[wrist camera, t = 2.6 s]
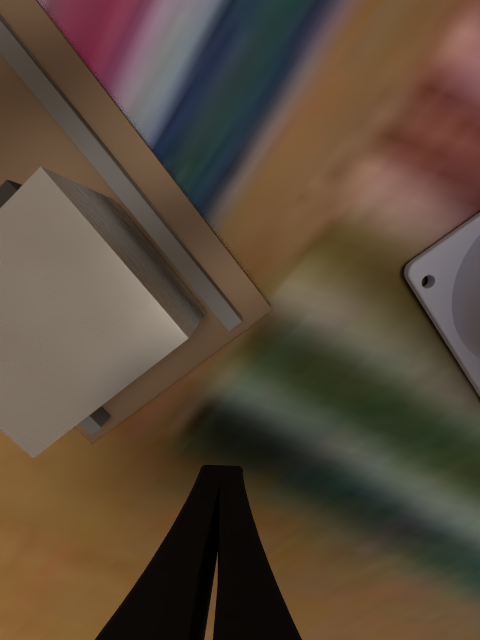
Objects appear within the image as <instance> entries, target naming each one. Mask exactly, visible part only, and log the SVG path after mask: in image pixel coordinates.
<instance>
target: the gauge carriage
mask: <svg viewBox="0 0 480 640" xmlns="http://www.w3.org/2000/svg"><path fill="white" fill-rule="evenodd" d="M206 313H207V312H206V311H205V309H204V308H203V307H202V306H201V305H200V303H199V302H198V301H197V300H196V299H195V297H194V296H193V295H192V294H191V292H190V291H189V290H188V289H187V288H186V286H185V285H184V284H183V283H182V282H181V280H180V279H179V278H178V277H177V276H176V274H175V273H174V272H173V271H172V269H171V268H170V267H169V266H168V265H167V263H166V262H165V261H164V260H163V259H162V257H161V256H160V255H159V254H158V253H157V251H156V250H155V249H154V248H153V246H152V245H151V244H150V243H149V242H148V240H147V239H146V238H145V237H144V236H143V234H142V233H141V232H140V231H139V230H138V228H137V227H136V226H135V225H134V223H133V222H132V221H131V220H130V219H129V217H128V216H127V215H126V214H125V213H124V211H123V210H122V209H121V208H120V207H119V205H118V204H117V203H116V202H115V200H114V199H112V198H109V197H107V196H105V195H103V194H101V193H98V192H96V191H94V190H92V189H90V188H87V187H85V186H83V185H81V184H78V183H76V182H74V181H72V180H70V179H67V178H65V177H63V176H61V175H59V174H56V173H54V172H52V171H50V170H47V169H45V168H43V167H40V168H39V169H38V170H37V171H36V172H35V173H34V174H33V175H32V176H31V177H30V178H29V179H28V180H27V181H26V182H25V183H24V184H23V185H22V184H19V183H16V182H13V181H10V180H6V181H5V182H4V183H3V184H2V185H1V186H0V429H1V430H2V431H3V432H4V433H5V434H6V435H7V436H9V437H10V438H11V439H12V440H13V441H14V442H15V443H16V444H18V445H19V446H20V447H21V448H22V449H23V450H24V451H26V452H27V453H28V454H29V455H30V456H31V457H32V458H35V457H36V456H37V455H38V454H40V453H41V452H42V451H44V450H45V449H46V448H48V447H49V446H50V445H51V444H53V443H54V442H55V441H57V440H58V439H59V438H60V437H62V436H63V435H64V434H66V433H67V432H68V431H69V430H71V429H72V428H73V427H75V426H76V425H77V424H79V423H80V422H81V421H82V420H84V419H85V418H86V417H88V416H89V415H90V414H91V413H93V412H94V411H95V410H97V409H98V408H99V407H101V406H102V405H103V404H104V403H106V402H107V401H108V400H110V399H111V398H112V397H113V396H115V395H116V394H117V393H119V392H120V391H121V390H123V389H124V388H125V387H126V386H128V385H129V384H130V383H132V382H133V381H134V380H135V379H137V378H138V377H139V376H141V375H142V374H143V373H144V372H146V371H147V370H148V369H150V368H151V367H152V366H154V365H155V364H156V363H157V362H159V361H160V360H161V359H163V358H164V357H165V356H166V355H168V354H169V353H170V352H172V351H173V350H174V349H176V348H177V347H178V346H179V345H181V344H182V343H183V342H185V341H186V340H187V339H188V338H189V337H190V336H191V334H192V333H193V332H194V330H195V329H196V327H197V326H198V324H199V323H200V322H201V320H202V319H203V317H204V316H205V314H206Z"/></svg>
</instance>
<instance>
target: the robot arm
mask: <svg viewBox="0 0 480 640" xmlns="http://www.w3.org/2000/svg"><path fill="white" fill-rule="evenodd" d="M425 276H427V277H428V283H427V284H426V285H425V286H424V287H423V286H422V283H421V282H422V279H423V278H424V277H425ZM404 277H405V279H406V281H407V282H408V284H409V285H410V287H411V289H412V290H413V292H414V293H415V295H416V297H417V298H418V300H419V301H420V303H421V305H422V306H423V308H424V309H425V311H426V312H427V314H428V316H429V317H430V319H431V320H432V322H433V324H434V325H435V327H436V328H437V330H438V331H439V333H440V335H441V336H442V338H443V339H444V341H445V343H446V344H447V346H448V347H449V349H450V350H451V352H452V354H453V355H454V357H455V358H456V360H457V362H458V363H459V365H460V366H461V368H462V370H463V371H464V373H465V374H466V376H467V377H468V379H469V381H470V382H471V384H472V385H473V387H474V389H475V390H476V392H477V393H478V395H479V396H480V212H479V213H478V214H476V215H475V216H473V217H472V218H471V219H469V220H468V221H466V222H465V223H463V224H462V225H461V226H459V227H458V228H456V229H455V230H454V231H452V232H451V233H449V234H448V235H447V236H445V237H444V238H442V239H441V240H439V241H438V242H437V243H435V244H434V245H432V246H431V247H430V248H428V249H427V250H425V251H424V252H423V253H421V254H420V255H418V256H417V257H415V258H414V259H413V260H411V261H410V262H409V263H408V264H407V265H406V267H405V269H404ZM217 553H218V587H217V599H216V610H215V622H214V633H213V640H302V639H301V637H300V635H299V633H298V630H297V628H296V626H295V624H294V622H293V620H292V617H291V615H290V613H289V611H288V608H287V606H286V604H285V602H284V599H283V597H282V595H281V592H280V590H279V588H278V585H277V583H276V580H275V578H274V575H273V573H272V570H271V568H270V565H269V562H268V560H267V557H266V554H265V552H264V549H263V546H262V544H261V541H260V538H259V535H258V532H257V529H256V525H255V522H254V519H253V516H252V513H251V509H250V506H249V502H248V498H247V494H246V490H245V485H244V479H243V469H242V468H241V467H240V466H223V465H204V466H202V467H201V469H200V472H199V475H198V477H197V479H196V482H195V484H194V486H193V488H192V490H191V492H190V494H189V496H188V498H187V500H186V502H185V504H184V506H183V508H182V509H181V511H180V513H179V515H178V517H177V518H176V520H175V522H174V524H173V526H172V527H171V529H170V531H169V532H168V534H167V536H166V537H165V539H164V541H163V542H162V544H161V545H160V547H159V549H158V550H157V552H156V553H155V555H154V557H153V558H152V560H151V561H150V563H149V564H148V566H147V567H146V569H145V570H144V572H143V574H142V575H141V576H140V578H139V579H138V581H137V582H136V584H135V585H134V587H133V588H132V590H131V591H130V592H129V594H128V595H127V597H126V598H125V599H124V601H123V602H122V604H121V605H120V606H119V608H118V609H117V611H116V612H115V613H114V615H113V616H112V617H111V619H110V620H109V621H108V623H107V624H106V625H105V627H104V628H103V629H102V631H101V632H100V633H99V635H98V636H97V637H96V639H95V640H204V638H205V631H206V625H207V618H208V612H209V605H210V599H211V592H212V586H213V579H214V573H215V566H216V559H217Z"/></svg>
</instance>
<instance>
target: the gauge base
mask: <svg viewBox="0 0 480 640" xmlns="http://www.w3.org/2000/svg"><path fill="white" fill-rule="evenodd" d="M40 167H43V168H45V169H47V170H50V171H52V172H54V173H56V174H59V175H61V176H63V177H65V178H67V179H70V180H72V181H74V182H76V183H78V184H81V185H83V186H85V187H87V188H90V189H92V190H94V191H96V192H98V193H101V194H103V195H105V196H107V197H109V198H112V199H114V200H115V202H116V203H117V204H118V205H119V207H120V208H121V209H122V210H123V211H124V213H125V214H126V215H127V216H128V217H129V219H130V220H131V221H132V222H133V223H134V225H135V226H136V227H137V228H138V230H139V231H140V232H141V233H142V234H143V236H144V237H145V238H146V239H147V240H148V242H149V243H150V244H151V245H152V246H153V248H154V249H155V250H156V251H157V253H158V254H159V255H160V256H161V257H162V259H163V260H164V261H165V262H166V263H167V265H168V266H169V267H170V268H171V269H172V271H173V272H174V273H175V274H176V276H177V277H178V278H179V279H180V280H181V282H182V283H183V284H184V285H185V286H186V288H187V289H188V290H189V291H190V292H191V294H192V295H193V296H194V297H195V299H196V300H197V301H198V302H199V303H200V305H201V306H202V307H203V308H204V309H205V311H206V312H207V313H206V314H205V316H204V317H203V319H202V320H201V322H200V323H199V324H198V326H197V327H196V329H195V330H194V332H193V333H192V334H191V336H190V337H189V338H188V339H187V340H186V341H185V342H183V343H182V344H181V345H179V346H178V347H177V348H176V349H174V350H173V351H172V352H170V353H169V354H168V355H166V356H165V357H164V358H163V359H161V360H160V361H159V362H157V363H156V364H155V365H154V366H152V367H151V368H150V369H148V370H147V371H146V372H144V373H143V374H142V375H141V376H139V377H138V378H137V379H135V380H134V381H133V382H132V383H130V384H129V385H128V386H126V387H125V388H124V389H123V390H121V391H120V392H119V393H117V394H116V395H115V396H113V397H112V398H111V399H110V400H108V401H107V402H106V403H104V404H103V405H102V406H101V407H99V408H98V409H97V410H95V411H94V412H93V413H91V414H90V415H89V416H88V417H86V418H85V419H84V420H82V421H81V422H80V423H79V424H77V425H76V426H75V428H76V429H77V430H78V431H79V432H80V433H81V434H82V435H84V436H85V437H86V438H87V439H88V440H89V441H90V442H91V443H92V444H93V443H94V442H96V441H97V440H98V439H100V438H101V437H102V436H104V435H105V434H106V433H108V432H109V431H110V430H112V429H113V428H115V427H116V426H117V425H119V424H120V423H121V422H123V421H124V420H125V419H127V418H128V417H129V416H131V415H132V414H133V413H135V412H136V411H137V410H139V409H140V408H141V407H143V406H144V405H145V404H147V403H148V402H149V401H151V400H152V399H153V398H155V397H156V396H157V395H159V394H160V393H161V392H163V391H164V390H166V389H167V388H168V387H170V386H171V385H172V384H174V383H175V382H176V381H178V380H179V379H180V378H182V377H183V376H184V375H186V374H187V373H188V372H190V371H191V370H192V369H194V368H195V367H196V366H198V365H199V364H200V363H202V362H203V361H204V360H206V359H207V358H208V357H210V356H211V355H212V354H214V353H215V352H216V351H218V350H219V349H221V348H222V347H223V346H225V345H226V344H227V343H229V342H230V341H231V340H233V339H234V338H235V337H237V336H238V335H239V334H241V333H242V332H243V331H245V330H246V329H247V328H249V327H250V326H251V325H253V324H254V323H255V322H257V321H258V320H259V319H261V318H262V317H263V316H265V315H266V314H267V313H269V312H270V311H271V310H272V308H271V306H270V304H269V303H268V301H267V300H266V299H265V298H264V296H263V295H262V294H261V292H260V291H259V290H258V288H257V287H256V286H255V284H254V283H253V282H252V281H251V279H250V278H249V277H248V275H247V274H246V273H245V271H244V270H243V269H242V267H241V266H240V265H239V264H238V262H237V261H236V260H235V258H234V257H233V256H232V254H231V253H230V252H229V250H228V249H227V248H226V247H225V245H224V244H223V243H222V241H221V240H220V239H219V237H218V236H217V235H216V233H215V232H214V231H213V230H212V228H211V227H210V226H209V224H208V223H207V222H206V220H205V219H204V218H203V216H202V215H201V214H200V213H199V211H198V210H197V209H196V207H195V206H194V205H193V203H192V202H191V201H190V200H189V198H188V197H187V196H186V194H185V193H184V192H183V190H182V189H181V188H180V186H179V185H178V184H177V183H176V181H175V180H174V179H173V177H172V176H171V175H170V173H169V172H168V171H167V169H166V168H165V167H164V166H163V164H162V163H161V162H160V160H159V159H158V158H157V156H156V155H155V154H154V152H153V151H152V150H151V149H150V147H149V146H148V145H147V143H146V142H145V141H144V139H143V138H142V137H141V135H140V134H139V133H138V132H137V130H136V129H135V128H134V126H133V125H132V124H131V122H130V121H129V120H128V118H127V117H126V116H125V115H124V113H123V112H122V111H121V109H120V108H119V107H118V105H117V104H116V103H115V101H114V100H113V99H112V98H111V96H110V95H109V94H108V92H107V91H106V90H105V88H104V87H103V86H102V84H101V83H100V82H99V81H98V79H97V78H96V77H95V75H94V74H93V73H92V71H91V70H90V69H89V67H88V66H87V65H86V64H85V62H84V61H83V60H82V58H81V57H80V56H79V54H78V53H77V52H76V50H75V49H74V48H73V47H72V45H71V44H70V43H69V41H68V40H67V39H66V37H65V36H64V35H63V33H62V32H61V31H60V30H59V28H58V27H57V26H56V24H55V23H54V22H53V20H52V19H51V18H50V16H49V15H48V14H47V13H46V11H45V10H44V9H43V7H42V6H41V5H40V3H39V2H38V1H37V0H0V186H1V185H2V184H3V183H4V182H5V181H6V180H10V181H13V182H16V183H19V184H22V185H23V184H24V183H25V182H26V181H27V180H28V179H29V178H30V177H31V176H32V175H33V174H34V173H35V172H36V171H37V170H38V169H39V168H40Z"/></svg>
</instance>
